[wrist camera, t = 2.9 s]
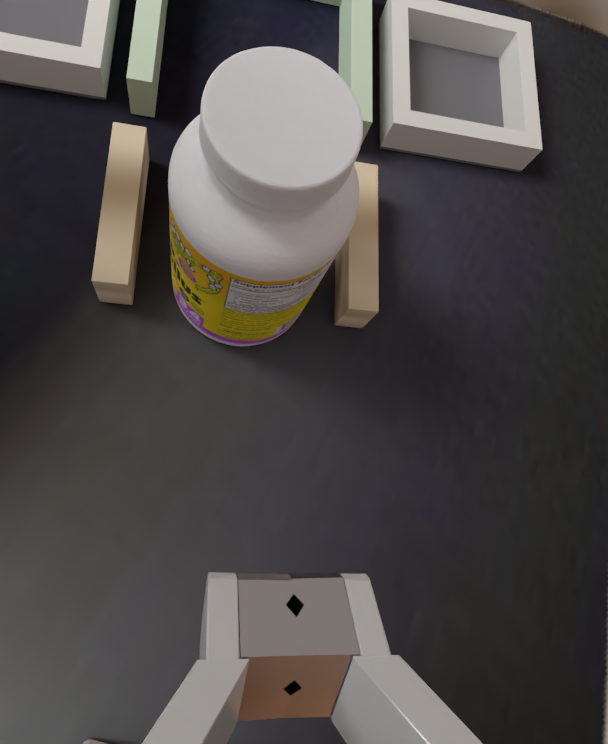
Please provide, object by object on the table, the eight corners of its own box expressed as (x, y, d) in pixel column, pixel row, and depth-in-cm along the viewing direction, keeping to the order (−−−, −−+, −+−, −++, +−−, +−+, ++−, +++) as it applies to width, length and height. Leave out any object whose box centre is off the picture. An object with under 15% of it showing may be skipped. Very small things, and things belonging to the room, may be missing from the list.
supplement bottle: (169, 226, 27) (159, 0, 15) (297, 228, 29) (381, 25, 17) (174, 354, 26) (168, 217, 14) (309, 349, 27) (411, 222, 15)
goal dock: (357, 151, 31) (372, 122, 29) (131, 113, 28) (126, 77, 26) (358, -5, 34) (371, -44, 31) (151, -52, 31) (149, -98, 29)
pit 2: (519, 172, 33) (542, 149, 31) (379, 148, 31) (393, 122, 29) (510, 50, 35) (530, 22, 33) (378, 22, 34) (391, -11, 31)
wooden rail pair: (362, 328, 28) (378, 311, 26) (99, 301, 26) (91, 280, 23) (362, 192, 30) (377, 165, 28) (119, 154, 28) (113, 121, 25)
